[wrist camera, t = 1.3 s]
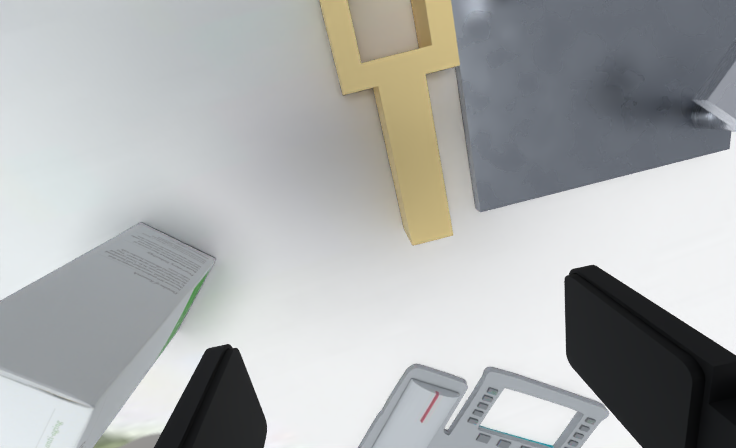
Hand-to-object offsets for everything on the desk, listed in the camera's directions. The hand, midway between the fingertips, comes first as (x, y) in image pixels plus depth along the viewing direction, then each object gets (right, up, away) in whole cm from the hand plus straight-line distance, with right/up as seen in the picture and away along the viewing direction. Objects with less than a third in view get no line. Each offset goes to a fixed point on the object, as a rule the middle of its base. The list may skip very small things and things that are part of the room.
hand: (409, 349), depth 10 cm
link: (+1, +12, +16) cm, 20 cm away
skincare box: (-18, -1, +19) cm, 26 cm away
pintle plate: (+15, +16, +16) cm, 27 cm away
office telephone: (+10, -20, +29) cm, 36 cm away
